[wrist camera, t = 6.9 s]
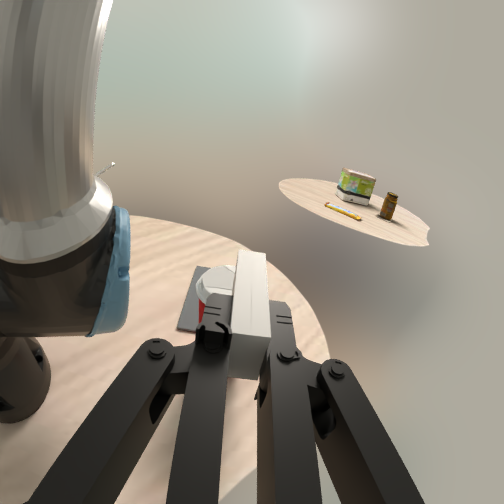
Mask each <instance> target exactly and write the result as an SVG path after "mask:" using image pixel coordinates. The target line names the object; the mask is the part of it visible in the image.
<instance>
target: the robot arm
mask: <svg viewBox="0 0 504 504" xmlns="http://www.w3.org/2000/svg"><path fill="white" fill-rule="evenodd" d="M112 2H113V0H0V422H1V423H13V422H18V421H21V420H23V419H25V418H27V417H28V416H30V415H31V414H33V413H34V412H35V411H36V410H37V409H38V408H39V406H40V405H41V404H42V402H43V401H44V399H45V397H46V395H47V393H48V390H49V386H50V381H51V370H50V365H49V361H48V359H47V357H46V355H45V353H44V350H43V348H42V347H41V345H40V343H39V342H38V341H37V339H36V338H35V337H58V336H85V337H92V336H94V335H95V334H103V333H111V332H115V331H117V330H119V329H120V328H121V327H122V326H123V325H124V323H125V321H126V318H127V313H128V304H129V280H130V279H129V272H128V271H129V263H130V218H129V213H128V211H127V210H126V209H124V208H119V207H118V206H113V199H112V194H111V191H110V189H109V187H108V186H107V184H106V183H105V182H104V181H103V180H101V179H100V178H98V177H97V176H96V175H94V174H93V130H94V112H95V99H96V89H97V80H98V72H99V64H100V58H101V52H102V46H103V41H104V36H105V31H106V26H107V22H108V18H109V13H110V9H111V6H112ZM292 324H293V322H292V316H291V310H290V308H289V307H288V305H287V304H286V303H285V302H280V301H272V300H269V297H268V282H267V268H266V255H265V253H259V252H252V251H246V250H240V249H239V252H238V258H237V264H236V270H235V276H234V282H233V288H232V295H225V294H219V293H212V294H211V295H210V296H209V297H208V298H207V300H206V304H205V308H204V313H203V317H202V322H201V323H199V324H198V326H197V327H196V337H195V341H194V342H192V343H191V344H188V345H185V346H176V347H173V346H172V344H171V343H170V342H168V341H166V340H164V339H160V338H155V339H150V340H147V341H145V342H144V343H143V344H142V345H141V346H140V348H139V349H138V350H137V351H136V353H135V354H134V355H133V357H132V358H131V359H130V360H129V362H128V363H127V364H126V366H125V367H124V368H123V369H122V371H121V372H120V373H119V375H118V376H117V377H116V379H115V380H114V381H113V383H112V384H111V385H110V387H109V388H108V389H107V391H106V392H105V393H104V395H103V396H102V397H101V399H100V400H99V401H98V403H97V404H96V405H95V407H94V408H93V409H92V411H91V412H90V413H89V415H88V416H87V417H86V419H85V420H84V422H83V423H82V424H81V426H80V427H79V428H78V430H77V431H76V433H75V434H74V435H73V437H72V438H71V439H70V441H69V442H68V444H67V445H66V446H65V448H64V449H63V451H62V452H61V454H60V455H59V456H58V458H57V459H56V461H55V462H54V464H53V465H52V466H51V468H50V469H49V471H48V472H47V474H46V475H45V477H44V478H43V480H42V481H41V483H40V484H39V486H38V487H37V488H36V490H35V491H34V493H33V495H32V496H31V498H30V499H29V501H27V502H25V503H23V504H114V503H115V501H116V499H117V497H118V496H119V494H120V492H121V490H122V489H123V487H124V485H125V483H126V482H127V480H128V478H129V476H130V474H131V473H132V471H133V469H134V467H135V466H136V464H137V462H138V460H139V459H140V457H141V455H142V453H143V451H144V450H145V448H146V446H147V444H148V443H149V441H150V439H151V437H152V436H153V434H154V432H155V430H156V428H157V427H158V425H159V423H160V421H161V420H162V418H163V416H164V414H165V412H166V411H167V409H168V407H169V405H170V404H171V402H172V400H173V398H174V396H175V394H185V395H184V400H183V405H182V410H181V416H180V421H179V426H178V432H177V437H176V443H175V449H174V455H173V461H172V467H171V473H170V479H169V486H168V492H167V499H166V504H218V496H219V481H220V466H221V452H222V438H223V425H224V412H225V400H226V387H227V377H233V378H241V379H250V380H258V377H259V376H260V383H259V386H258V389H257V391H256V394H255V398H254V400H257V504H322V496H321V487H320V477H319V469H318V460H317V453H316V444H317V447H318V449H319V452H320V454H321V456H322V459H323V461H324V464H325V466H326V468H327V471H328V473H329V475H330V478H331V480H332V483H333V485H334V487H335V489H336V492H337V494H338V497H339V499H340V501H341V504H425V503H424V501H423V499H422V497H421V495H420V493H419V492H418V490H417V487H416V486H415V484H414V482H413V480H412V478H411V476H410V474H409V473H408V470H407V469H406V467H405V465H404V463H403V461H402V459H401V457H400V456H399V454H398V452H397V450H396V448H395V446H394V445H393V443H392V441H391V439H390V437H389V436H388V434H387V432H386V430H385V429H384V427H383V425H382V423H381V421H380V420H379V418H378V416H377V414H376V412H375V411H374V409H373V407H372V405H371V404H370V402H369V400H368V398H367V397H366V395H365V393H364V391H363V389H362V388H361V386H360V384H359V383H358V381H357V379H356V377H355V376H354V374H353V372H352V370H351V369H350V368H349V366H348V365H347V364H346V363H344V362H342V361H340V360H337V359H329V360H326V361H325V362H324V363H323V364H319V363H316V362H313V361H310V360H308V359H306V358H304V357H303V356H302V353H301V351H300V350H299V349H298V348H297V347H296V342H295V335H294V328H293V325H292ZM315 442H316V444H315Z"/></svg>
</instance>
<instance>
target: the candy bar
mask: <svg viewBox="0 0 504 504" xmlns="http://www.w3.org/2000/svg"><path fill="white" fill-rule="evenodd" d="M325 206H326V207H328V208H330V209H333V210H335V211H337V212H340V213H342V214H344V215H347V216H349V217H351V218H353V219H360V217H359V216H358V215H356V214H354V213H352V212H350V211H347V210H345V209H343V208H340V207H337V206H335V205H332V204H329V203H328V202H327V203H325Z"/></svg>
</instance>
